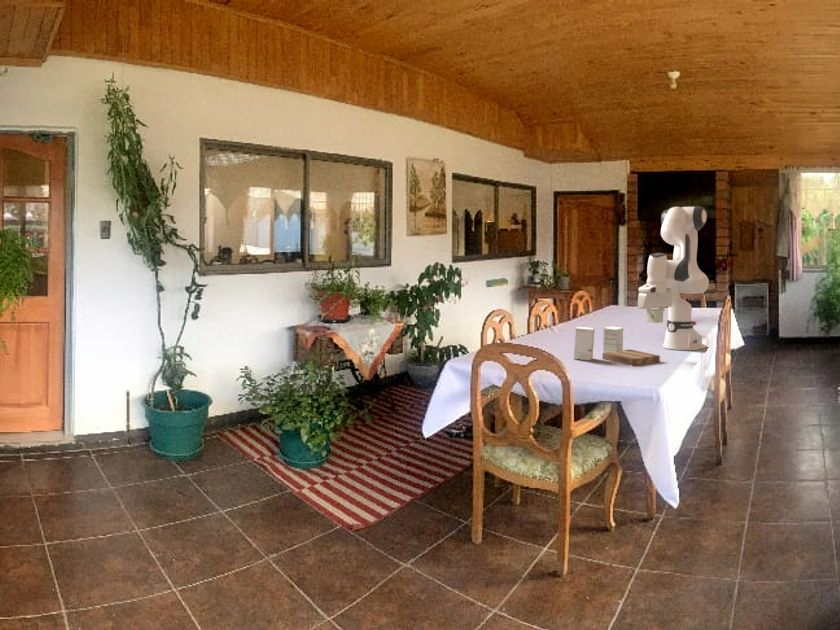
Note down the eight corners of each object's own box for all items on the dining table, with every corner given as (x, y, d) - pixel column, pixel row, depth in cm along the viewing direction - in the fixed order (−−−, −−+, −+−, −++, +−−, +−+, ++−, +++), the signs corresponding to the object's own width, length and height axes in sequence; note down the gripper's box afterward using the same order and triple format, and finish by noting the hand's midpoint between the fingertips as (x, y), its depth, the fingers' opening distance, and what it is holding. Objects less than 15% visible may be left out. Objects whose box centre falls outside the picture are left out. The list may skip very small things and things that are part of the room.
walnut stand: (629, 355, 340) (629, 349, 340) (659, 361, 325) (659, 355, 324) (602, 359, 331) (602, 352, 331) (631, 365, 316) (632, 359, 315)
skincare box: (573, 359, 331) (574, 328, 329) (575, 357, 336) (576, 326, 334) (591, 360, 328) (592, 329, 326) (593, 358, 333) (594, 327, 331)
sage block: (654, 321, 335) (654, 308, 335) (662, 322, 331) (663, 309, 330) (647, 321, 333) (647, 309, 332) (655, 322, 329) (656, 310, 328)
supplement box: (608, 351, 352) (609, 326, 350) (623, 352, 347) (624, 327, 346) (602, 353, 346) (603, 327, 345) (616, 355, 342) (617, 329, 340)
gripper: (666, 286, 338) (664, 315, 340) (635, 288, 328) (634, 318, 329) (676, 287, 333) (675, 316, 334) (646, 289, 322) (645, 319, 324)
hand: (655, 317), depth 332 cm, fingers closed on sage block, 5 cm apart
